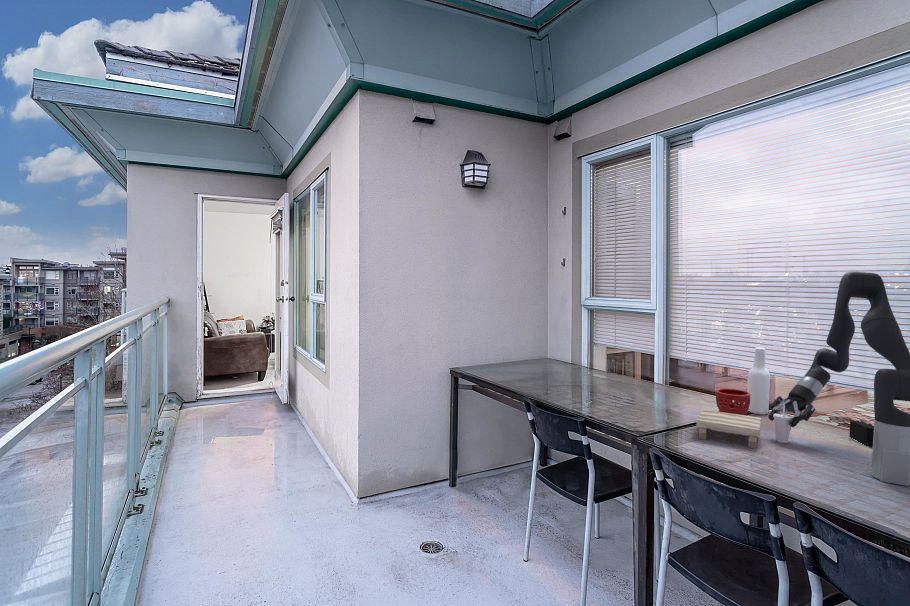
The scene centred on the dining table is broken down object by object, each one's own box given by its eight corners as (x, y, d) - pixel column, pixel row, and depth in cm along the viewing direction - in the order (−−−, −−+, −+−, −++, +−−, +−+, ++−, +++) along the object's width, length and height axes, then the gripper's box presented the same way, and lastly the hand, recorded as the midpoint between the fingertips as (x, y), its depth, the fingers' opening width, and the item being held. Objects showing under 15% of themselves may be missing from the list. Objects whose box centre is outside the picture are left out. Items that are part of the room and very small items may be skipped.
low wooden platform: (758, 449, 170) (759, 429, 170) (695, 438, 181) (696, 420, 181) (760, 435, 187) (761, 417, 186) (702, 426, 198) (703, 409, 197)
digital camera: (883, 448, 176) (884, 429, 175) (866, 446, 177) (867, 427, 176) (865, 439, 186) (866, 421, 186) (849, 438, 187) (850, 420, 187)
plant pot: (715, 412, 221) (716, 386, 220) (749, 417, 214) (750, 390, 214) (714, 419, 210) (715, 391, 209) (749, 424, 203) (750, 396, 202)
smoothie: (772, 442, 179) (774, 404, 178) (770, 437, 185) (772, 401, 184) (793, 445, 176) (795, 407, 175) (791, 440, 182) (793, 403, 181)
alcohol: (750, 408, 230) (753, 346, 229) (771, 413, 223) (774, 348, 222) (743, 411, 224) (746, 347, 223) (764, 415, 217) (767, 349, 216)
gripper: (783, 380, 188) (758, 410, 186) (819, 388, 174) (792, 421, 172) (793, 393, 190) (768, 423, 187) (829, 402, 176) (803, 435, 173)
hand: (780, 422), depth 180 cm, fingers open, 8 cm apart
